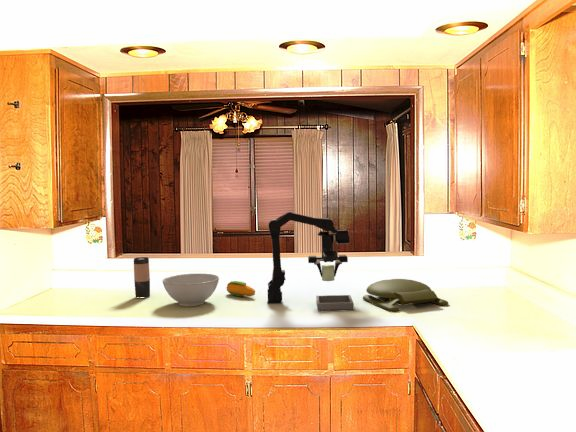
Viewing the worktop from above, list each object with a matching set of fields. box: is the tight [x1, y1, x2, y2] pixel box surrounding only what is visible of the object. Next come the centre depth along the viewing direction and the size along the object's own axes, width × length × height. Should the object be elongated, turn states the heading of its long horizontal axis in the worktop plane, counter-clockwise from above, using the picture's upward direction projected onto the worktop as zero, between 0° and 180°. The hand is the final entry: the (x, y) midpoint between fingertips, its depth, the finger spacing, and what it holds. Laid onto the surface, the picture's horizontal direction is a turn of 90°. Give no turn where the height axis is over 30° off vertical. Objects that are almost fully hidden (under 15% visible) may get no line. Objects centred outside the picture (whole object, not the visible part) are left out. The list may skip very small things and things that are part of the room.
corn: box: [225, 280, 256, 298], centre depth 292 cm, size 7×8×20 cm
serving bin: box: [315, 294, 355, 312], centre depth 265 cm, size 16×16×4 cm
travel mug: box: [133, 256, 151, 298], centre depth 295 cm, size 8×8×20 cm
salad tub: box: [321, 264, 335, 282], centre depth 278 cm, size 6×6×7 cm
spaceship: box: [362, 278, 449, 313], centre depth 273 cm, size 35×31×10 cm
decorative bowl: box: [162, 273, 220, 307], centre depth 279 cm, size 27×27×12 cm
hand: (328, 276), depth 278 cm, fingers closed on salad tub, 6 cm apart
